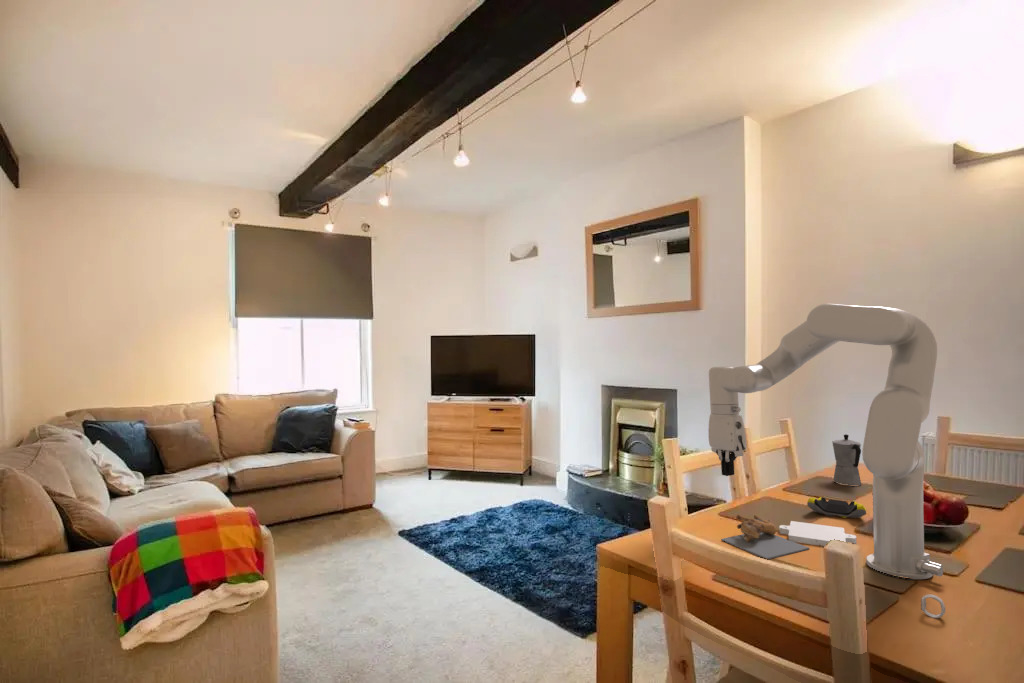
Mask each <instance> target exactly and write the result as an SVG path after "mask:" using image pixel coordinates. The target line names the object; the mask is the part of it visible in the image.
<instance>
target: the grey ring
mask: <svg viewBox="0 0 1024 683" xmlns="http://www.w3.org/2000/svg"><path fill="white" fill-rule="evenodd" d="M927 598H928V599H929V598H930V599H932V600H935V601H937V602H938V603H939V604H940V610H941V612H940V613H939V614H933V613H931V612H929V611H927ZM920 607H921V608H920V609H921V611H922V612H923V613H924V614H925V615H927V616H928V617H929V618H933V619H940V618H942V617H943V616H944V615H945V613H946V606H945V603H944V600H943V599H941V598H940V597H939V596H937V595H935V594H931V593H930V594H925V595H924V596H922V597H921V600H920Z"/></svg>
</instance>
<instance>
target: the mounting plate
mask: <svg viewBox="0 0 1024 683" xmlns="http://www.w3.org/2000/svg"><path fill="white" fill-rule="evenodd" d="M778 529H779V534H780V535H787V536H788V540H790V541H793V542H795V543H798V544H808V545H812V546H813V545H814V546H819V545H821V546H820V547H826V546H825V545H826V544H827V543H828V542H829V541H830V540H834V539H835V540H840V541H844V542H851V543H854V544H853V545H856V544H857V535H854V534H851V533H850V534H849V533H845V527H840V526H833V525H832V526H831V525H824V524H818V523H810V522H803V521H802V522H801V521H794V520H790V523H789V525H785V524H781V525H779V528H778ZM822 545H823V546H822Z"/></svg>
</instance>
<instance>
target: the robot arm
mask: <svg viewBox="0 0 1024 683" xmlns="http://www.w3.org/2000/svg"><path fill="white" fill-rule="evenodd" d="M839 342H847V343H855V344H863V345H864V344H866V345H873V346H889V347H890V349H891V357H890V360H889V364H888V370H887V377H886V382H885V387H884V389H883V390H881V391H879V393H877V394H876V396H874V398H873V400H872V402H871V403H870V407H869V411H868V416H867V421H866V422H867V423H866V428H865V434H864V440H863V445H862V449H861V453H862V456H861V457H862V461H863V464H864V466H865V467H866V469H867V470H868V471H869V472H870V473H871V474H872V521H873V523H872V524H873V528H872V529H873V553H872V554H868V555H867V556H866V557H865V563H866V565H867V566H868V567H870V568H871V569H872V568H873V569H872V570H874V569H875V570H874V571H876V570H877V571H876V572H878V571H880V572H879V573H881V572H883V573H882V574H884V573H887V574H891V575H896V576H903V577H908V578H913V579H912V580H927V579H930V578H932V577H934V576H937V577H942V576H943V575H944V566H943V564H940V563H937V562H933V561H932V560H931V558H930V557H931V556H930V553H927V552H925V529H924V528H925V525H924V522H925V521H924V475H925V452H924V450H923V449H924V448H923V446H922V445H921V443H920V441H919V437H920V431H921V427H922V423H924V422H925V420H926V419H927V418H928V416H929V414H930V407H931V406H930V405H931V398H932V393H933V387H934V380H935V372H936V366H937V359H938V346H937V344H938V343H937V340H936V337H935V335H934V333H933V330H932V329H931V328H930V326H929V325H928V324H926V322H925V321H924V320H922V319H921V318H919V317H917V316H916V315H914V314H912V313H910V312H908V311H906V310H903V309H900V308H897V307H896V308H895V307H894V308H893V307H887V306H886V307H885V306H867V305H865V306H864V305H848V304H837V303H823V304H822V303H821V304H819V305H817V306H815V307H814V308H812V309H811V311H809V313H808V315H807V318H806V321H804V322H802V323H801V324H800V325H798V326H797V327H795V328H793V329H792V330H791V331H789V332H788V333H786V334H785V335H784V336H783V337H782V338H781V339H780V343H779V345H778V347H777V348H776V349H775V350H774V351H773V352H772V353H770V354H768V356H766V357H764V358H763V359H762V360H760V361H759V362H757V363H755V364H748V365H741V366H736V367H734V366H731V365H730V366H728V365H727V366H713V367H710V368H709V371H708V388H709V404H710V406H709V407H710V414H709V417H708V418H709V419H708V420H709V421H708V442H709V446H710V450H711V451H712V452H713V453H714V454H716V455H717V456H718V459H719V461H720V465H721V466H720V469H721V475H722V476H726V477H729V476H735V462H736V459H737V458H738V457H743V456H744V451H747V450H746V449H747V437H746V429H745V423H744V419H743V416H742V415H741V414H740V412H741V407H740V406H739V393H740V394H752V393H756V392H762V391H765V390H768V389H770V388H771V387H773V386H775V385H777V384H778V383H780V382H781V381H782V380H784V379H786V378H787V377H788V376H790V375H792V374H793V373H794V372H795V371H797V370H798V369H800V368H802V366H804V365H805V364H806V363H807V362H809V361H811V360H812V359H814V358H815V357H816V356H818V355H820V354H821V353H823V352H824V351H826V350H828V349H829V348H831V347H832V346H834V345H835V344H837V343H839ZM887 574H886V575H887Z"/></svg>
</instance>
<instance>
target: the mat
mask: <svg viewBox="0 0 1024 683" xmlns="http://www.w3.org/2000/svg"><path fill="white" fill-rule="evenodd" d="M743 536H744V533H742V534H737V535H734V536H728V537H724V538H720V539H721V540H722V541H721V540H720V541H721V542H724V541H725V542H724V543H726V544H728V543H729V544H728V545H731V546H733V545H734V547H736V548H738V547H739V548H738V549H739V550H740V549H741V550H743V551H745V552H748V553H750V554H753V555H754V556H757V557H758V558H761V557H763V558H762V559H764V558H767V559H768V560H771V559H775V558H780V557H783V556H788V555H792V554H797V553H799V552H800V553H801V552H804V551H808V550H810V547H809V546H806V545H803V544H802V543H799V542H793V541H790V540H789V539H786V538H785V537H782V536H779V535H776V534H774V535H770V534H767V533H765V532H763V533H760V535H759V538H754V539H751V540H750V541H749V542H747V541H746V540H745V539H744V538H743Z"/></svg>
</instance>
